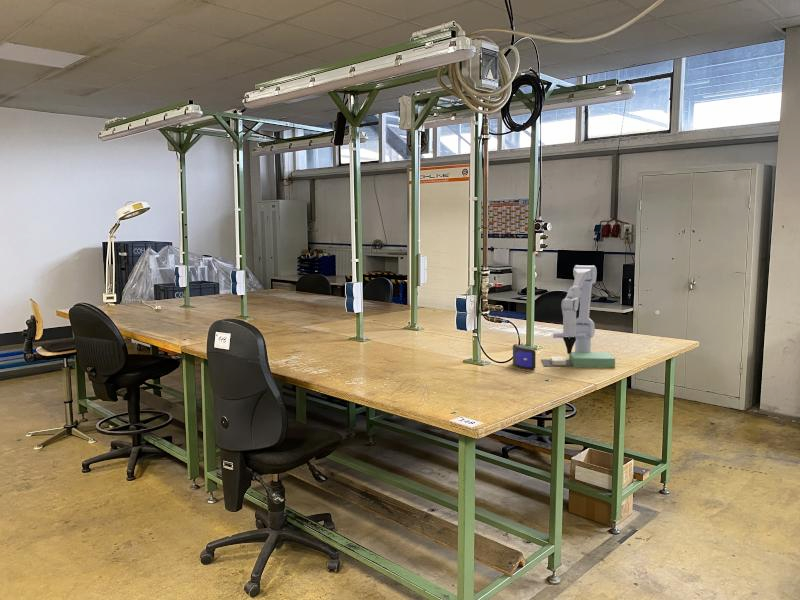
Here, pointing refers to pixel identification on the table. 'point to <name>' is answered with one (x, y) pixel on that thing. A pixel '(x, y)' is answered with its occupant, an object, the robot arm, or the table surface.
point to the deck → (592, 359)
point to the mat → (548, 364)
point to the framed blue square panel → (524, 357)
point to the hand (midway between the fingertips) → (569, 353)
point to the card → (558, 360)
